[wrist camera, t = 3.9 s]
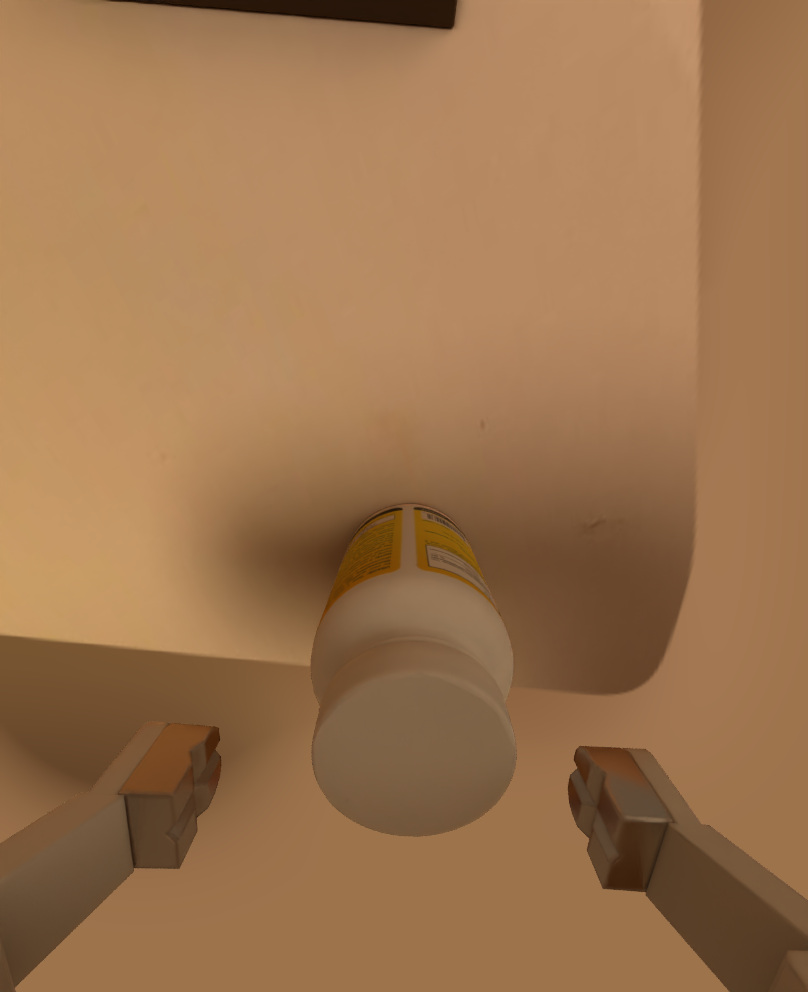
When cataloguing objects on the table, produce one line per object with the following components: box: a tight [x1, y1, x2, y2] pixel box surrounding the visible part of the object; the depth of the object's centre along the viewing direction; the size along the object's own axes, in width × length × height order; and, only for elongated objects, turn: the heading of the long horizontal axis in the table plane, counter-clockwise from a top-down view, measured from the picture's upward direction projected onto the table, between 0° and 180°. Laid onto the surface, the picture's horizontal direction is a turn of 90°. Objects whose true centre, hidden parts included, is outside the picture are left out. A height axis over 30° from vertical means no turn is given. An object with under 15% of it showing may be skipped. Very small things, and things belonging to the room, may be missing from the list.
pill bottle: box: [311, 504, 516, 837], centre depth 14 cm, size 6×6×11 cm
